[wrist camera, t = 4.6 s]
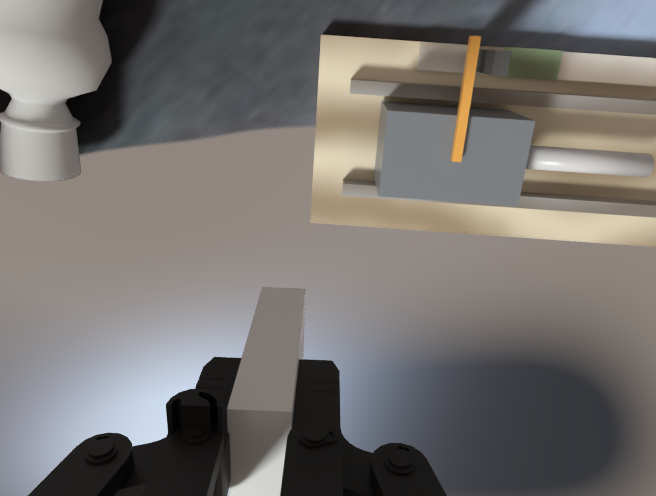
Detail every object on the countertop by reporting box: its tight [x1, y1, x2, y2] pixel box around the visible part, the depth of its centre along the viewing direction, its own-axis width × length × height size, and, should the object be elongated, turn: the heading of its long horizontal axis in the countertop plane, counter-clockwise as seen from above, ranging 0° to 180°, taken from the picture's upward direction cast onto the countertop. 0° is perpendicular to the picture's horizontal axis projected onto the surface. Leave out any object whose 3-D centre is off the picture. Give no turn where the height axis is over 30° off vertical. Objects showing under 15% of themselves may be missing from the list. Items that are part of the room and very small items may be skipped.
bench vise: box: [311, 35, 656, 247], centre depth 31 cm, size 12×30×9 cm, turn 86°
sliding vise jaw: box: [374, 36, 654, 206], centre depth 31 cm, size 9×16×5 cm, turn 86°
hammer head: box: [476, 49, 512, 76], centre depth 29 cm, size 1×1×5 cm
